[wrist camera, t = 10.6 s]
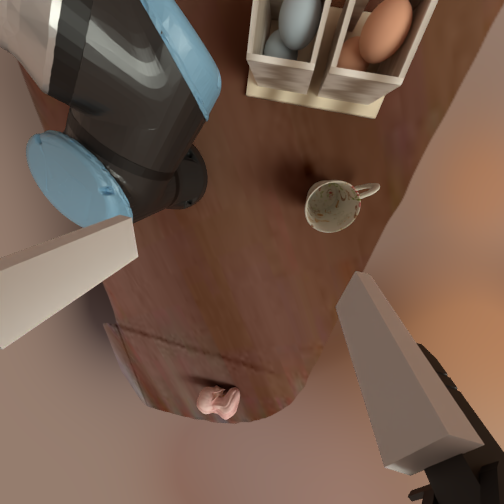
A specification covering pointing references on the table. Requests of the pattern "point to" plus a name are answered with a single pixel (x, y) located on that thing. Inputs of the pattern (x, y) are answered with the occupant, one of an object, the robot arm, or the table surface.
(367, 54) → the terracotta ball
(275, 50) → the grey ball lower
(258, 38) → the rack
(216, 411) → the figurine
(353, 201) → the mug
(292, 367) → the table surface
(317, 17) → the grey ball upper
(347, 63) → the terracotta ball in tube
